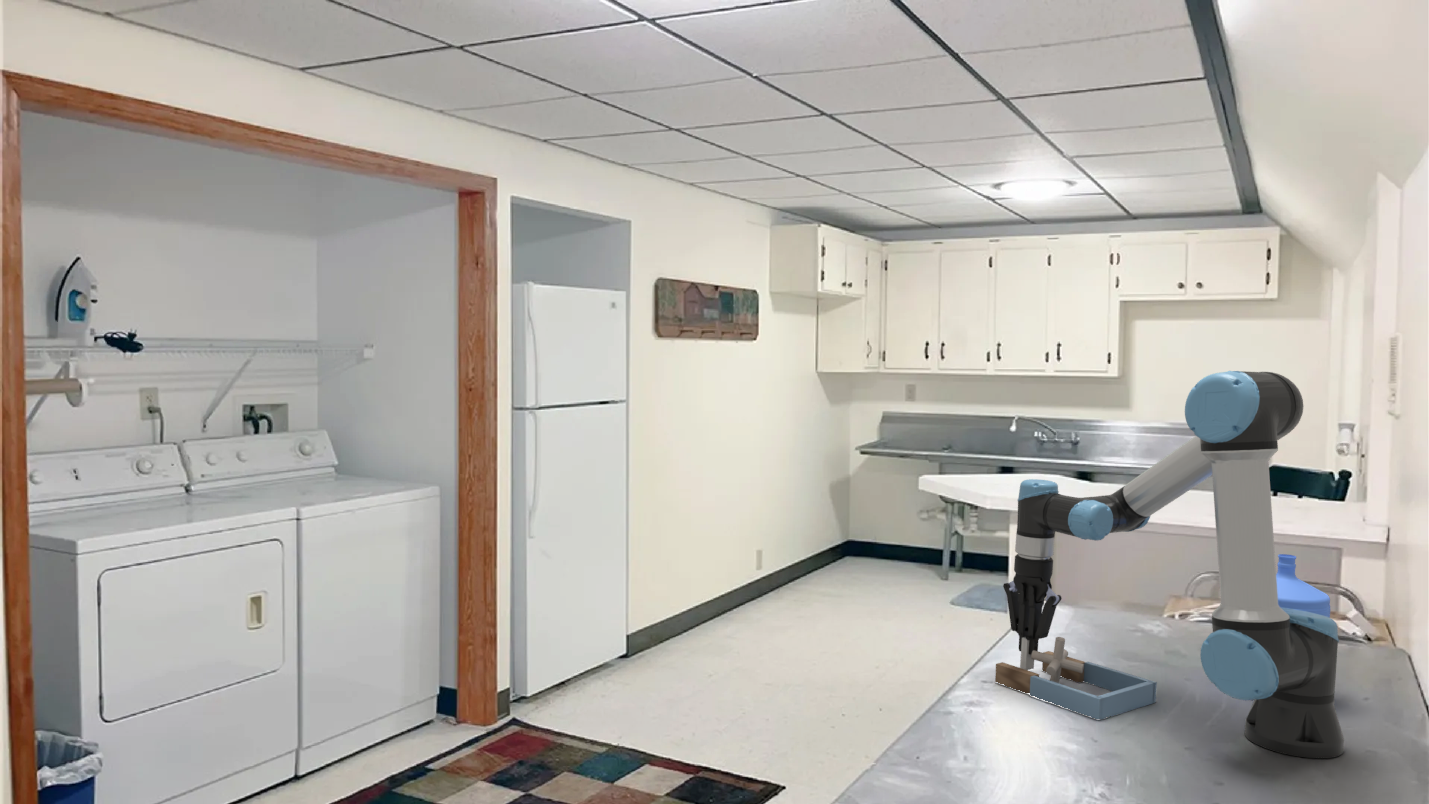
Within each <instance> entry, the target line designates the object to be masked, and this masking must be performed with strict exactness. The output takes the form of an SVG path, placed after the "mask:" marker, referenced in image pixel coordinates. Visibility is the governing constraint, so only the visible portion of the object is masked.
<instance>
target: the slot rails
mask: <svg viewBox="0 0 1429 804" xmlns="http://www.w3.org/2000/svg"><path fill="white" fill-rule="evenodd" d="M1042 653H1045V654H1049V655H1052V656H1053V654H1054V651H1050V650H1048V651H1042ZM1066 659H1067V660H1070V661H1074V662H1077V663H1081V664H1084V663H1085V662H1086V661H1084V660H1080V659H1078V658H1077V659H1076V658H1073V657H1070V656H1067V658H1066ZM1041 663H1042V667H1041V671H1042V670H1043V671H1045V672H1044V673H1046V669H1047V667H1048V666H1049V664H1047V663H1044V662H1041ZM1043 671H1042V672H1043ZM994 674H995V675H994V676H995V681H994V683H995V682H998V683H1000V684H1004V685H1005V686H1007V687H1011V688H1013V689H1016V690H1020V691H1022V692H1025V693H1030V677H1031V676H1034V675H1035V676H1038V677H1040V673H1037V672H1034V671H1031V670H1025V669H1022V668H1020V666H1015V665H1012V664H1009V663H1006V662H998V663H995V673H994ZM1060 676H1062V677H1064V678H1063V679H1065V678H1066V680H1068V679H1071V680H1073V681H1072V682H1074V681H1075V683H1077V682H1081V683H1084V682H1083V681H1084V670H1083V673H1079V672H1075V671H1072V670H1068V669H1065V668H1061V674H1060ZM1062 677H1061V678H1062ZM1071 680H1070V681H1071ZM1007 687H1006V688H1007ZM1013 689H1012V690H1013ZM1016 690H1015V691H1016ZM1022 692H1021V693H1022ZM1025 693H1024V694H1025Z"/></svg>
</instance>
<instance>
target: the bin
mask: <svg viewBox="0 0 1429 804" xmlns="http://www.w3.org/2000/svg"><path fill="white" fill-rule="evenodd" d="M1084 662H1085V663H1084V682H1083V683H1086V682H1088V683H1087V684H1089V683H1090V684H1089V685H1092V684H1094V685H1093V686H1095V685H1096V687H1098V688H1102V687H1103V688H1102V689H1105V690H1108V691H1109V692H1107V693H1104V694H1101V695H1095V694H1093V693H1089V692H1088V691H1084V690H1080V689H1078V688H1074V687H1071V686H1068V685H1064V684H1061V683H1060V682H1059V683H1056V682H1053V681H1050V679H1047V678H1043V677H1041V676H1039V677H1038V676H1035V675H1034V676H1031V677H1030V695H1031V696H1035V697H1037V698H1039V699H1043V700H1045V701H1048V702H1052V703H1054V704H1056V705H1060V706H1062V707H1064V708H1068V709H1070V710H1072V711H1076V712H1078V713H1081V714H1084V715H1087V716H1091V717H1092V718H1095V719H1102V720H1105V719H1107V718H1106V717H1108V718H1110V717H1109V716H1111V717H1114V715H1115V716H1117V714H1118V715H1121V714H1124V713H1127V712H1131V711H1133V710H1136V709H1139V708H1143V707H1146V706H1148V705H1153V704H1156V702H1157V684H1158V683H1157V681H1153V680H1150V679H1148V678H1145V677H1141V676H1137V675H1135V674H1132V673H1128V672H1125V671H1120V670H1117V669H1114V668H1111V667H1108V666H1105V665H1102V664H1101V665H1100V664H1097V663H1093V662H1092V661H1091V662H1090V661H1084ZM1110 691H1111V692H1110ZM1030 695H1029V696H1030ZM1064 708H1063V709H1064ZM1072 711H1071V712H1072ZM1078 713H1077V714H1078ZM1081 714H1080V715H1081ZM1084 715H1083V716H1084ZM1092 718H1091V719H1092ZM1104 718H1105V719H1104ZM1095 719H1094V720H1095Z"/></svg>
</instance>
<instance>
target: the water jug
mask: <svg viewBox="0 0 1429 804" xmlns="http://www.w3.org/2000/svg"><path fill="white" fill-rule="evenodd" d="M1277 557H1278V562H1277V571H1276V579H1277V594H1278V605H1279V606H1280V607H1282V608H1289V609H1295V610H1301V611H1306V612H1311V613H1315V614H1319V615H1323V616H1326V617H1329V618H1331V604H1330V603H1331V599H1330V596H1329V595H1328V594H1327V593H1326V592H1324V591H1322V590H1321V589H1318V588H1316V587H1314V585H1311V584H1309V583H1307V582H1306V581H1304V580H1302V579H1299V578H1298V577H1297V576H1296V568H1297V564H1296V559H1297V556H1296V555H1292V554H1286V553H1279V554H1277Z"/></svg>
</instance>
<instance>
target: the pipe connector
mask: <svg viewBox="0 0 1429 804" xmlns="http://www.w3.org/2000/svg"><path fill="white" fill-rule="evenodd" d="M1065 644H1066V639H1065V637H1062V636H1056V637H1055V641H1054V648H1053V652H1054V654H1053V656H1052V655H1049V654H1045V653H1043V651H1042V652H1041V651H1039V650H1038V651H1035V650H1033V651H1032V654H1031V659H1033V660H1034V661H1038V662H1041V663H1043V662H1044V663H1047V664H1049V666H1048V667H1047V669H1046V672H1047V675H1049V676H1050V677H1049V678H1050V679H1049V680H1050V681H1053V682H1056V683H1059V684H1060V682H1061V677H1060V674H1061V668H1065V669H1068V670H1072V671H1075V672H1079V673H1083V670H1084V664H1081V663H1077V662H1074V661H1070V660H1067V659H1066V658H1067V657H1069V656H1068V655H1069V652H1068V651H1067V650H1066V648H1065ZM1046 672H1045V673H1046Z"/></svg>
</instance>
